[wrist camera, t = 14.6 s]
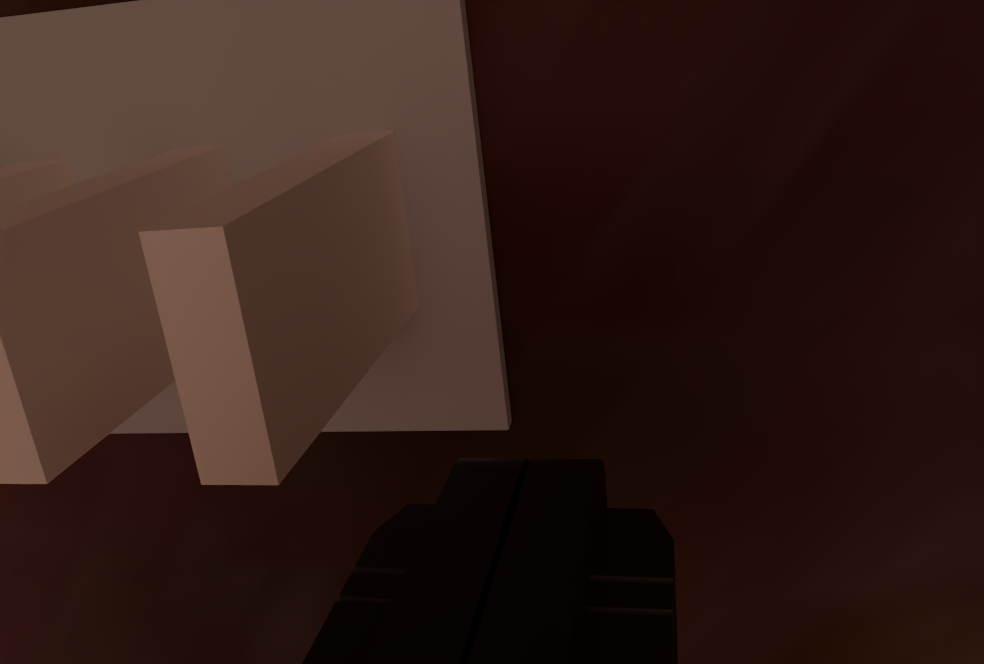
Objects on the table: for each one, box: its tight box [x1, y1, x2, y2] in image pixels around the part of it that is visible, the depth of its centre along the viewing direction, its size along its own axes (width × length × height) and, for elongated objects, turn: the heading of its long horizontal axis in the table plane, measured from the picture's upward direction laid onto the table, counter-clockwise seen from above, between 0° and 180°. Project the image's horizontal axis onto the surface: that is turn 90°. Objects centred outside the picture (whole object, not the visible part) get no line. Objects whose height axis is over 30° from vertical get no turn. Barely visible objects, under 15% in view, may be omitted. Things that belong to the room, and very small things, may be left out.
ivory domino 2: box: [139, 131, 419, 485], centre depth 21 cm, size 5×2×10 cm, turn 6°
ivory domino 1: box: [0, 145, 233, 484], centre depth 22 cm, size 5×2×10 cm, turn 6°
